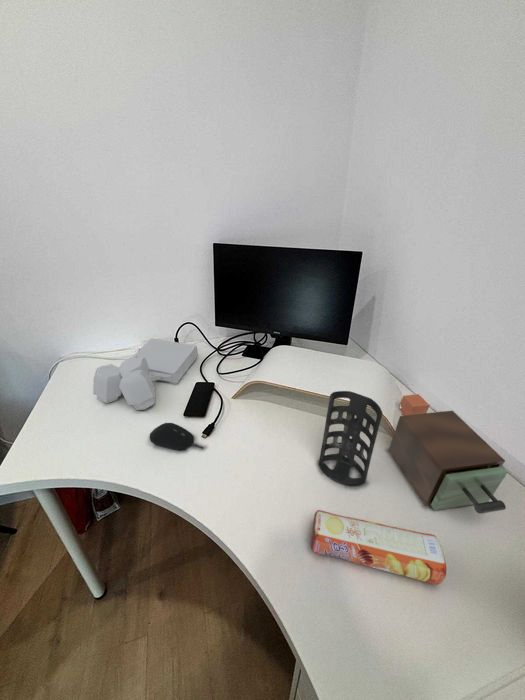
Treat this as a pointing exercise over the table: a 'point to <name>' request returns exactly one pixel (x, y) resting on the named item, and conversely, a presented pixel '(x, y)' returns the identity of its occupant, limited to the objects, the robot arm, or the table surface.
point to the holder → (349, 445)
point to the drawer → (470, 489)
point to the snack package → (379, 546)
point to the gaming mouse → (172, 437)
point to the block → (413, 405)
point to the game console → (144, 372)
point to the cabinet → (437, 449)
